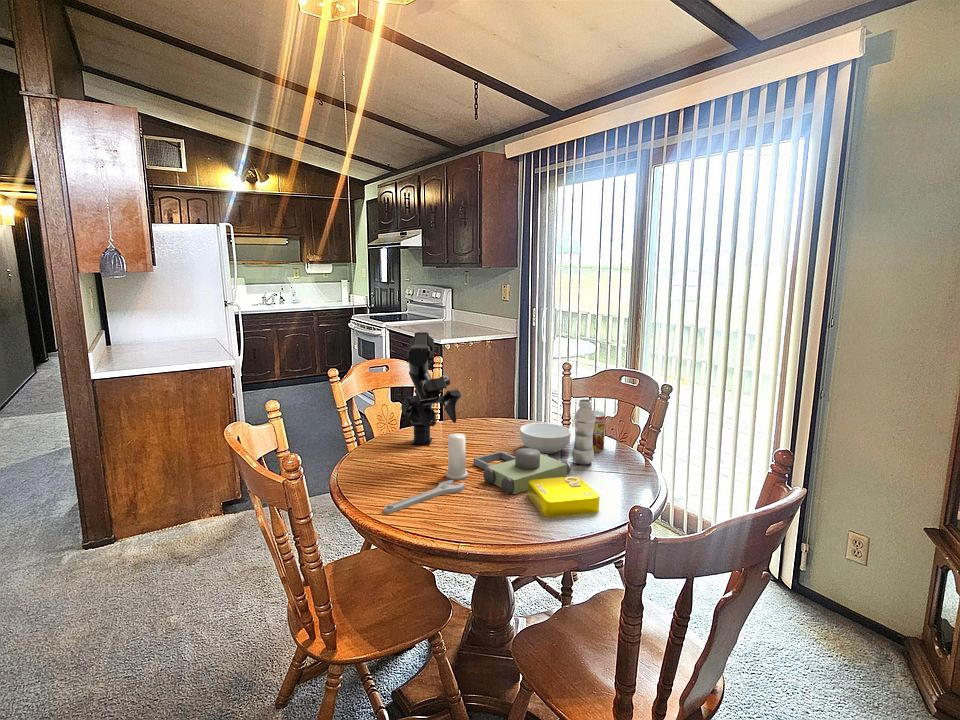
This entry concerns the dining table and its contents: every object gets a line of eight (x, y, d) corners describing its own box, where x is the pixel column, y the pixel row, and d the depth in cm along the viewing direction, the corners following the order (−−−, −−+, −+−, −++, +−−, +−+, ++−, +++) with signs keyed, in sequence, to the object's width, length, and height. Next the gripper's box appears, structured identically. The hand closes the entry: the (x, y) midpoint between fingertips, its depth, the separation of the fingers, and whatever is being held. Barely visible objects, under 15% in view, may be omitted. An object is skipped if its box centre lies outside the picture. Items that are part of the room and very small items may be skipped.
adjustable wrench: (387, 516, 133) (387, 509, 133) (375, 508, 138) (374, 501, 138) (468, 490, 149) (468, 484, 148) (454, 483, 154) (454, 477, 153)
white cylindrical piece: (447, 471, 161) (446, 432, 159) (468, 472, 161) (468, 433, 159) (444, 479, 155) (444, 439, 153) (466, 480, 155) (467, 439, 153)
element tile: (525, 494, 146) (526, 477, 146) (577, 490, 150) (578, 473, 149) (544, 519, 132) (545, 500, 131) (601, 513, 135) (602, 495, 134)
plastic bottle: (568, 460, 171) (570, 399, 167) (587, 458, 173) (589, 397, 169) (577, 468, 165) (580, 403, 161) (597, 465, 167) (600, 402, 163)
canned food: (601, 453, 178) (603, 417, 176) (577, 449, 181) (578, 415, 179) (605, 446, 185) (607, 411, 183) (582, 443, 188) (584, 409, 186)
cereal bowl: (558, 462, 170) (559, 440, 169) (510, 452, 178) (511, 432, 177) (577, 447, 184) (578, 426, 183) (532, 439, 192) (533, 419, 191)
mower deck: (458, 468, 164) (458, 442, 163) (514, 453, 177) (515, 429, 176) (510, 495, 145) (511, 466, 143) (569, 476, 158) (570, 450, 156)
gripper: (405, 370, 158) (425, 415, 151) (458, 363, 169) (479, 405, 162) (392, 391, 165) (411, 435, 158) (444, 384, 176) (463, 425, 169)
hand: (442, 424), depth 162 cm, fingers open, 9 cm apart
